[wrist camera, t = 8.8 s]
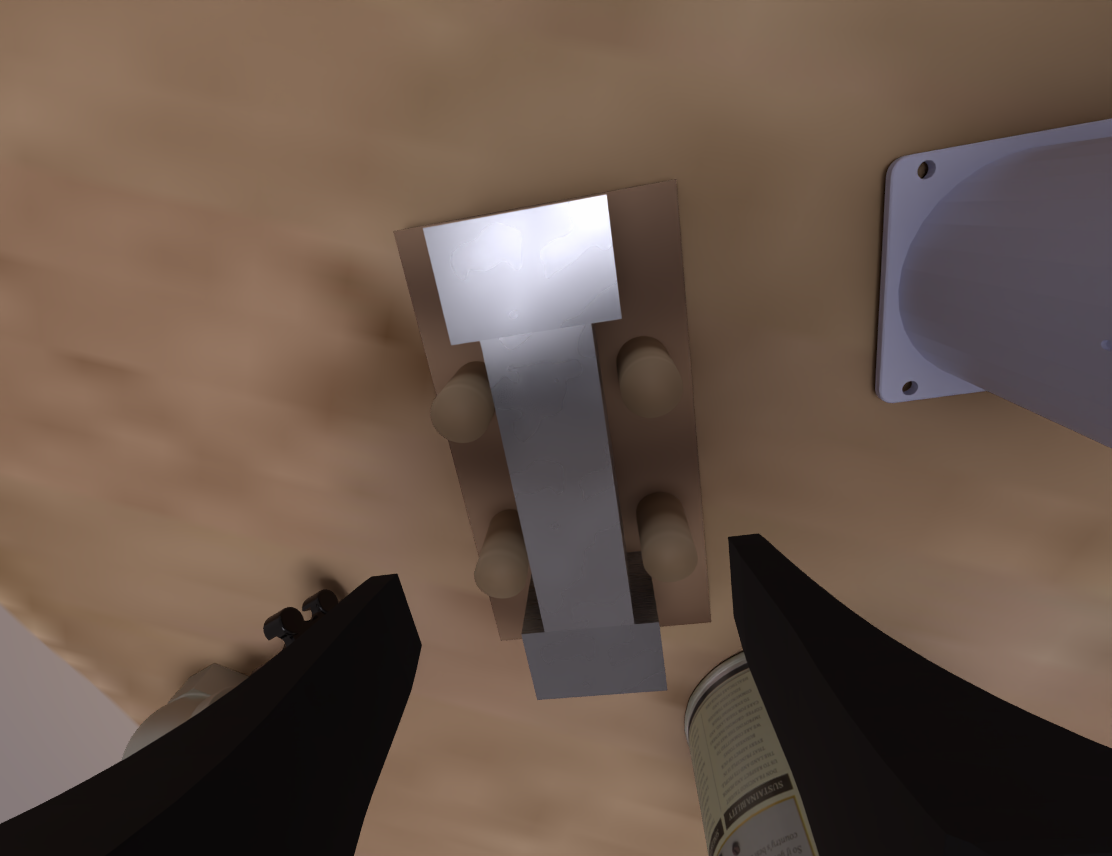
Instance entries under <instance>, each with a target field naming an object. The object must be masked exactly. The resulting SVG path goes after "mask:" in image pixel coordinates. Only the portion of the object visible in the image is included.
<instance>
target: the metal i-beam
mask: <svg viewBox="0 0 1112 856" xmlns="http://www.w3.org/2000/svg"><path fill="white" fill-rule="evenodd" d="M423 231H424V235H425V239H426V243H427V248H428V252H429V256H430V260H431V264H432V268H433V272H434V276H435V281H436V285H437V289H438V293H439V297H440V301H441V305H442V309H443V314H444V318H445V322H446V326H447V330H448V334H449V338H450V342H451V345H457V344H463V343H469V342H476V341H480V343H481V348H482V352H483V357H484V361H485V366H486V370H487V375H488V379H489V384H490V388H491V393H492V397H493V402H494V406H495V411H496V415H497V420H498V424H499V429H500V433H501V438H502V442H503V447H504V451H505V456H506V460H507V465H508V469H509V474H510V478H511V483H512V487H513V492H514V496H515V501H516V505H517V510H518V514H519V519H520V523H521V528H522V532H523V537H524V541H525V546H526V550H527V555H528V559H529V564H530V568H531V579H530V585H529V591H528V597H527V603H526V609H525V615H524V621H523V628H522V634H521V635H522V639H523V643H524V647H525V651H526V655H527V660H528V664H529V668H530V672H531V676H532V680H533V684H534V688H535V692H536V697H537V700H542V699H555V698H569V697H582V696H596V695H610V694H623V693H637V692H650V691H664V690H667V683H666V675H665V667H664V659H663V651H662V643H661V634H660V626H659V619H658V613H657V607H656V601H655V595H654V589H653V583H652V577H651V576H650V575H649V574H648V573H647V571H646V570H645V568H644V565H643V559H642V552H641V551H637V552H627V549H626V542H625V535H624V528H623V521H622V514H621V507H620V500H619V493H618V486H617V478H616V471H615V464H614V457H613V450H612V443H611V436H610V429H609V422H608V415H607V408H606V401H605V394H604V387H603V380H602V373H601V366H600V358H599V351H598V344H597V337H596V330H595V323H598V322H605V321H611V320H617V319H622V317H621V309H620V301H619V292H618V284H617V276H616V268H615V260H614V252H613V244H612V235H611V227H610V219H609V211H608V203H607V195H602V196H596V197H591V198H585V199H580V200H574V201H569V202H563V203H558V204H552V205H547V206H542V207H536V208H531V209H525V210H520V211H514V212H509V213H503V214H498V215H492V216H487V217H482V218H476V219H471V220H465V221H460V222H454V223H449V224H443V225H438V226H432V227H427V228H423Z"/></svg>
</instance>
